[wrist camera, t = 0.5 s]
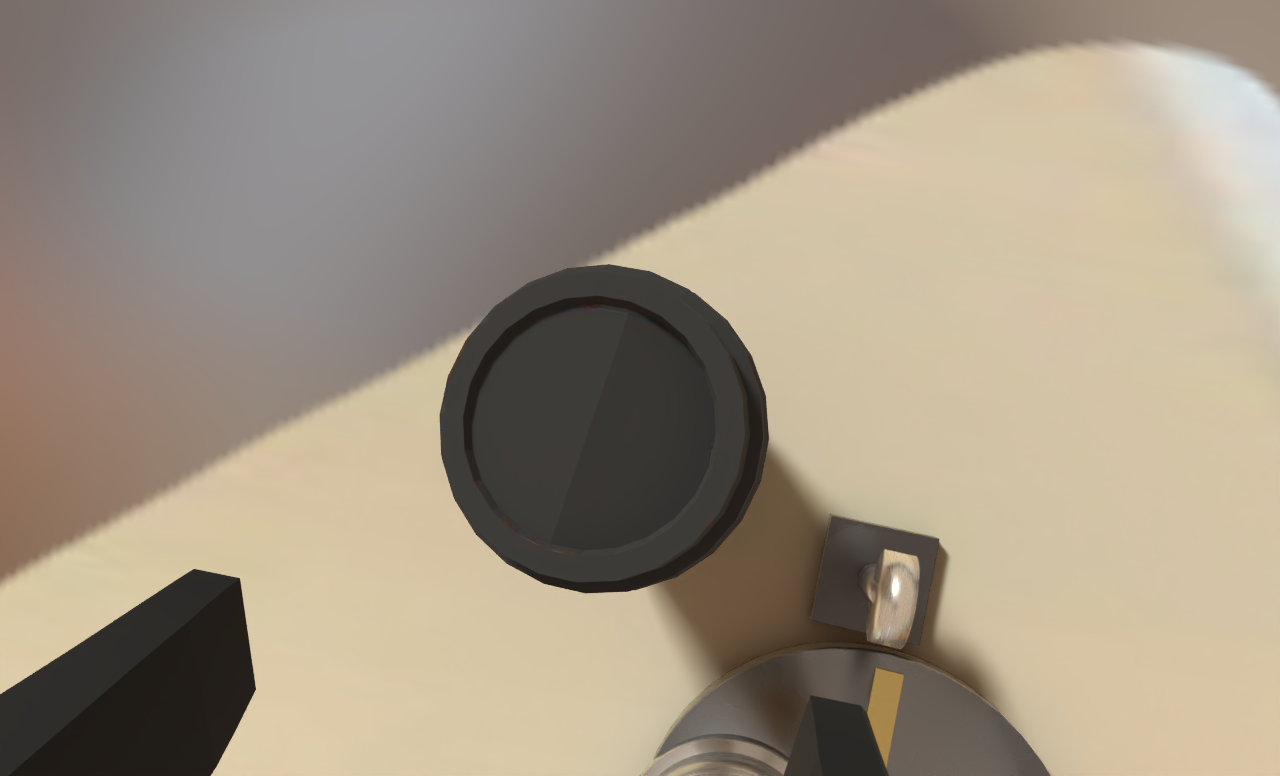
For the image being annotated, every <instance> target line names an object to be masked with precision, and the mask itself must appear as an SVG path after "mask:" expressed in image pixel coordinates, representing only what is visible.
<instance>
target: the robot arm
mask: <svg viewBox="0 0 1280 776" xmlns="http://www.w3.org/2000/svg"><path fill="white" fill-rule="evenodd" d="M255 690H256V687H255V680H254V673H253V666H252V659H251V652H250V645H249V638H248V631H247V624H246V617H245V610H244V604H243V597H242V590H241V583H240V578H236V577H231V576H226V575H221V574H216V573H211V572H207V571H202V570H197V569H193V570H192V571H190V572H188V573H187V574H185V575H184V576H182V577H181V578H179V579H177V580H176V581H174V582H173V583H171V584H170V585H168V586H167V587H165V588H164V589H162V590H161V591H159V592H157V593H156V594H154V595H153V596H151V597H150V598H148V599H147V600H145V601H144V602H142V603H141V604H139V605H138V606H136V607H135V608H133V609H132V610H130V611H129V612H127V613H126V614H124V615H122V616H121V617H119V618H118V619H116V620H115V621H113V622H112V623H110V624H109V625H107V626H106V627H104V628H103V629H101V630H100V631H98V632H97V633H95V634H94V635H92V636H91V637H89V638H88V639H86V640H84V641H83V642H81V643H80V644H78V645H77V646H75V647H74V648H72V649H71V650H69V651H68V652H66V653H64V654H63V655H61V656H60V657H58V658H57V659H55V660H53V661H52V662H50V663H49V664H47V665H46V666H44V667H43V668H41V669H39V670H38V671H36V672H35V673H33V674H32V675H30V676H28V677H27V678H25V679H24V680H22V681H21V682H19V683H17V684H16V685H14V686H13V687H11V688H10V689H8V690H6V691H5V692H3V693H2V694H0V776H211V774H212V773H213V771H214V770H215V768H216V766H217V765H218V763H219V761H220V759H221V757H222V755H223V753H224V751H225V749H226V748H227V746H228V744H229V742H230V740H231V738H232V736H233V734H234V732H235V731H236V729H237V726H238V724H239V722H240V720H241V718H242V716H243V714H244V712H245V710H246V708H247V706H248V704H249V702H250V700H251V698H252V696H253V694H254V692H255ZM783 776H889V774H888V772H887V769H886V766H885V763H884V761H883V758H882V755H881V753H880V750H879V747H878V744H877V741H876V738H875V735H874V732H873V730H872V727H871V724H870V720H869V717H868V714H867V713H866V711H865V710H864V709H863V707H862V706H861V705H856V704H852V703H847V702H842V701H837V700H832V699H827V698H822V697H817V696H812V695H810V698H809V701H808V704H807V707H806V710H805V713H804V716H803V719H802V722H801V725H800V728H799V731H798V734H797V737H796V740H795V743H794V746H793V749H792V752H791V755H790V758H789V761H788V763H787V766H786V769H785V772H784V775H783Z"/></svg>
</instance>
